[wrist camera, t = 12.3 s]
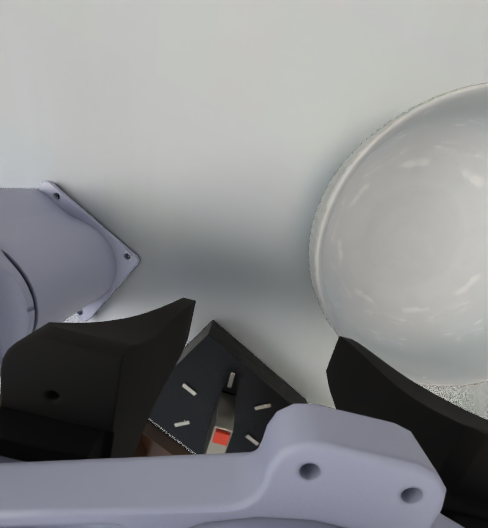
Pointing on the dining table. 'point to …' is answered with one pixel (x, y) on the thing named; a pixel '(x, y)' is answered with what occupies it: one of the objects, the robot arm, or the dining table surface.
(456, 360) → the cereal bowl
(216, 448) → the dimmer knob
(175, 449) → the lamp switch
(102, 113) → the dining table surface
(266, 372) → the dimmer
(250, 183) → the dining table surface
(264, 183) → the dining table surface
